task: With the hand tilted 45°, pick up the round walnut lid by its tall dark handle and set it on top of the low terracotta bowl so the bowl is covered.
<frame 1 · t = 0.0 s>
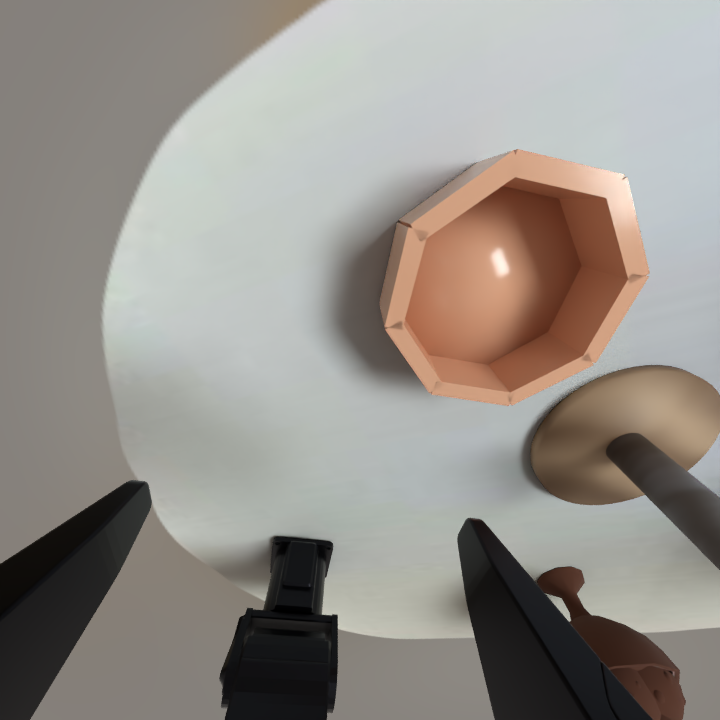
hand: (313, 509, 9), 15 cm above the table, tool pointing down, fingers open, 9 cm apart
walnut lid: (615, 437, 27), on the table
terracotta bowl: (481, 283, 20), on the table
ice cream bowl: (559, 577, 38), on the table
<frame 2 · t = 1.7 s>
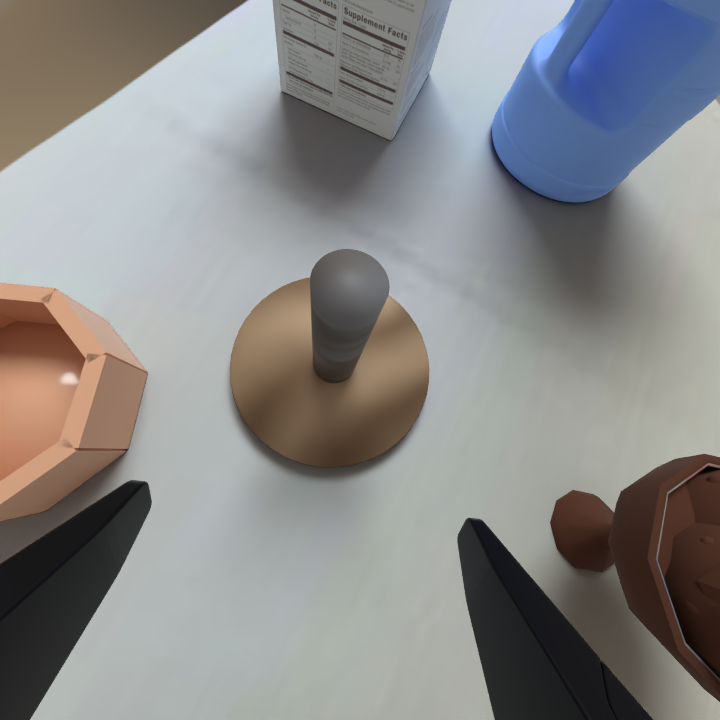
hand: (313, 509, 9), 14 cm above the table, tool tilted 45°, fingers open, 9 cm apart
supplement box: (359, 83, 34), on the table
water jug: (550, 153, 35), on the table
walnut lid: (333, 366, 24), on the table
terracotta bowl: (33, 404, 20), on the table
ice cream bowl: (582, 528, 23), on the table
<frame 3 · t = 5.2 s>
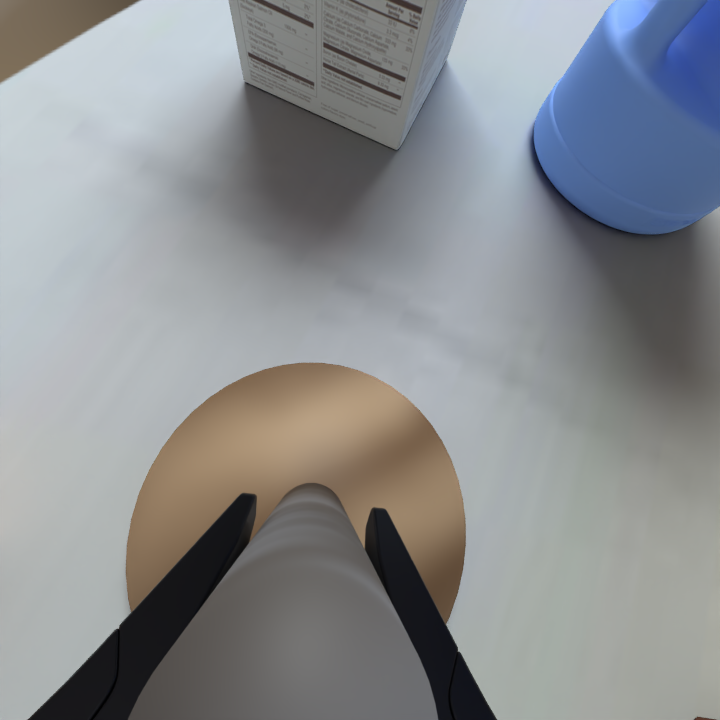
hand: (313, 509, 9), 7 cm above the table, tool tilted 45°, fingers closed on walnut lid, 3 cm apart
supplement box: (353, 73, 25), on the table
water jug: (609, 166, 26), on the table
walnut lid: (310, 515, 15), on the table, touching gripper
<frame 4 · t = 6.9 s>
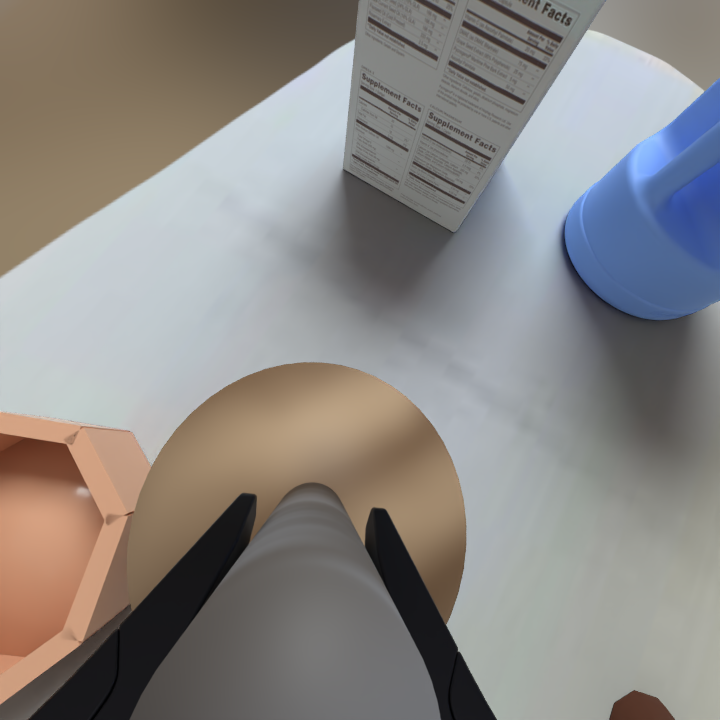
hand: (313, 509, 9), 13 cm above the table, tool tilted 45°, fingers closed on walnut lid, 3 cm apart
supplement box: (425, 163, 32), on the table
water jug: (626, 256, 32), on the table
walnut lid: (310, 514, 15), point 6 cm above the table, touching gripper
terracotta bowl: (43, 531, 18), on the table
when the fingers open (12 cm above the table, at t = 8.8 s): walnut lid stays where it is, resting on terracotta bowl.
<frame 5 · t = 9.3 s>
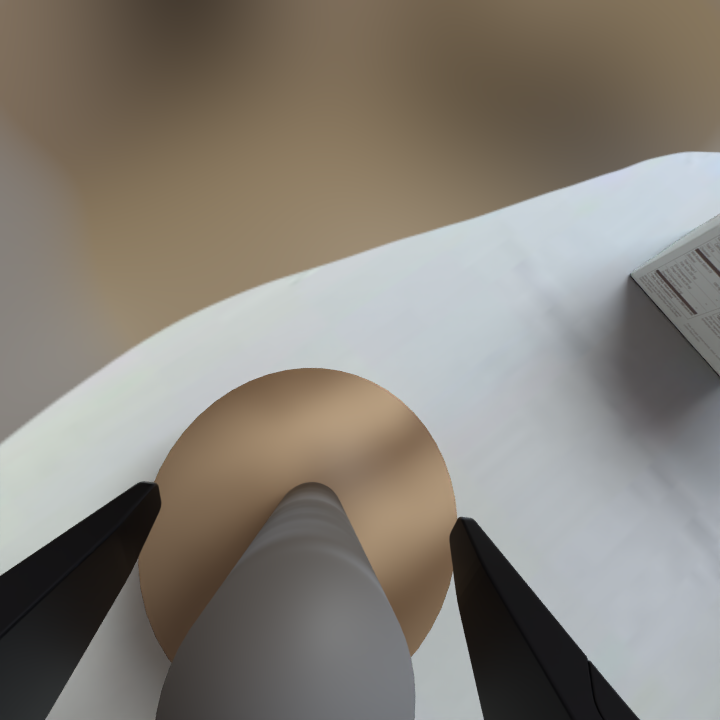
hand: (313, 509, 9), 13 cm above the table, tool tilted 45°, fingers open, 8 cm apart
supplement box: (707, 298, 31), on the table
walnut lid: (310, 512, 16), point 4 cm above the table, touching terracotta bowl
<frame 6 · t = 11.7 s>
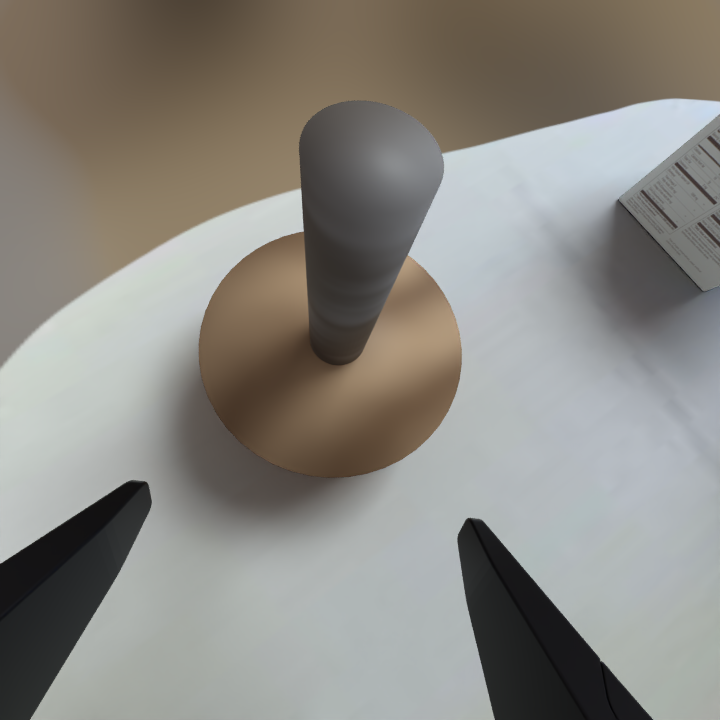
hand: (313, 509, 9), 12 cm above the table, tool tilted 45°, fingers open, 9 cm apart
supplement box: (689, 223, 33), on the table
walnut lid: (336, 345, 19), point 4 cm above the table, touching terracotta bowl
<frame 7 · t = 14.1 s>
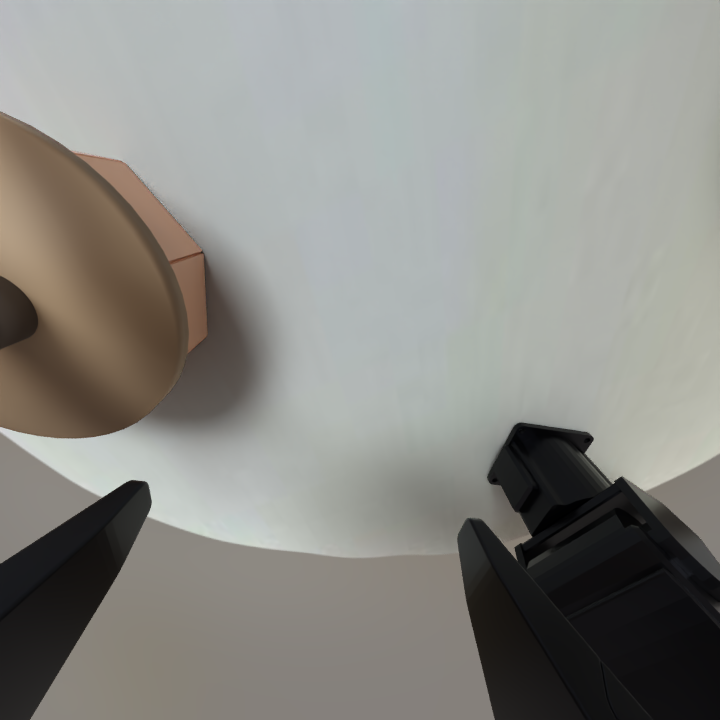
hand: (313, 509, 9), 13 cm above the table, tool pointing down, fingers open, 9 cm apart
walnut lid: (23, 299, 14), point 4 cm above the table, touching terracotta bowl
terracotta bowl: (94, 277, 18), on the table
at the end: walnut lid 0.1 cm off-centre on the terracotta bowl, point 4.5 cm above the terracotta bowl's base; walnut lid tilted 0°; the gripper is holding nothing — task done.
